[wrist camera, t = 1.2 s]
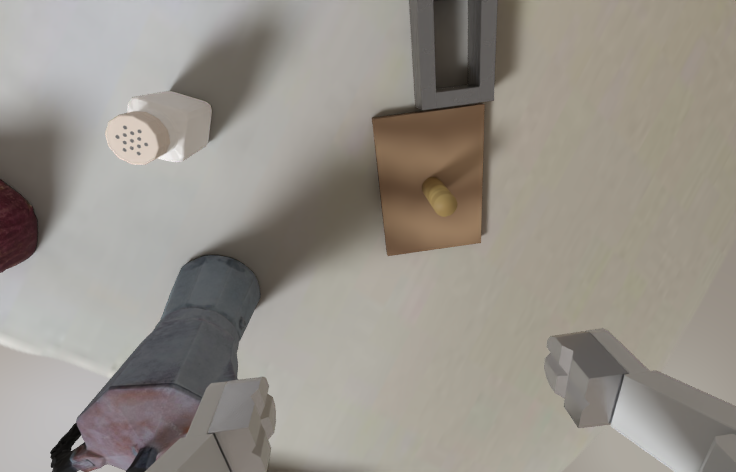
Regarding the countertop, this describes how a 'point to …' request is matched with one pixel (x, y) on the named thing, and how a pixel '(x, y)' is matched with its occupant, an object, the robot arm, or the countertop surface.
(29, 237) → the vegetable
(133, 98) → the pepper shaker
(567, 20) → the countertop surface
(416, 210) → the keeper
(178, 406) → the moka pot
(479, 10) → the link
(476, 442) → the countertop surface
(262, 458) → the robot arm
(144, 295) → the countertop surface
